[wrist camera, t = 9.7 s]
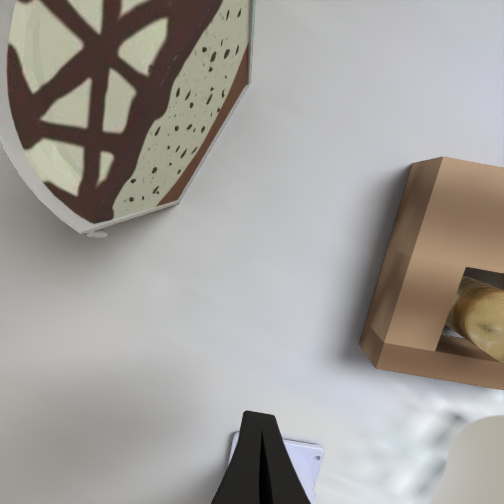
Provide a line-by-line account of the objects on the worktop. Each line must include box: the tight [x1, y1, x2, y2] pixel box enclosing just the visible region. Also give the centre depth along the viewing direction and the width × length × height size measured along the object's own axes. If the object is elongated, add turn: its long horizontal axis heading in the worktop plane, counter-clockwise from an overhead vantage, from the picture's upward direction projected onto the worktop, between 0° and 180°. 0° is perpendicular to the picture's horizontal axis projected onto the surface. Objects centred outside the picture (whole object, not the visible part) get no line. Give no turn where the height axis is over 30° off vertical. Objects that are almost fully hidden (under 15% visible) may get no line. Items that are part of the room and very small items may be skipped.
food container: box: [0, 0, 256, 237], centre depth 13 cm, size 12×6×10 cm, turn 146°
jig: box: [359, 157, 504, 390], centre depth 18 cm, size 14×13×3 cm
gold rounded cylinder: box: [445, 276, 504, 363], centre depth 17 cm, size 4×4×5 cm
